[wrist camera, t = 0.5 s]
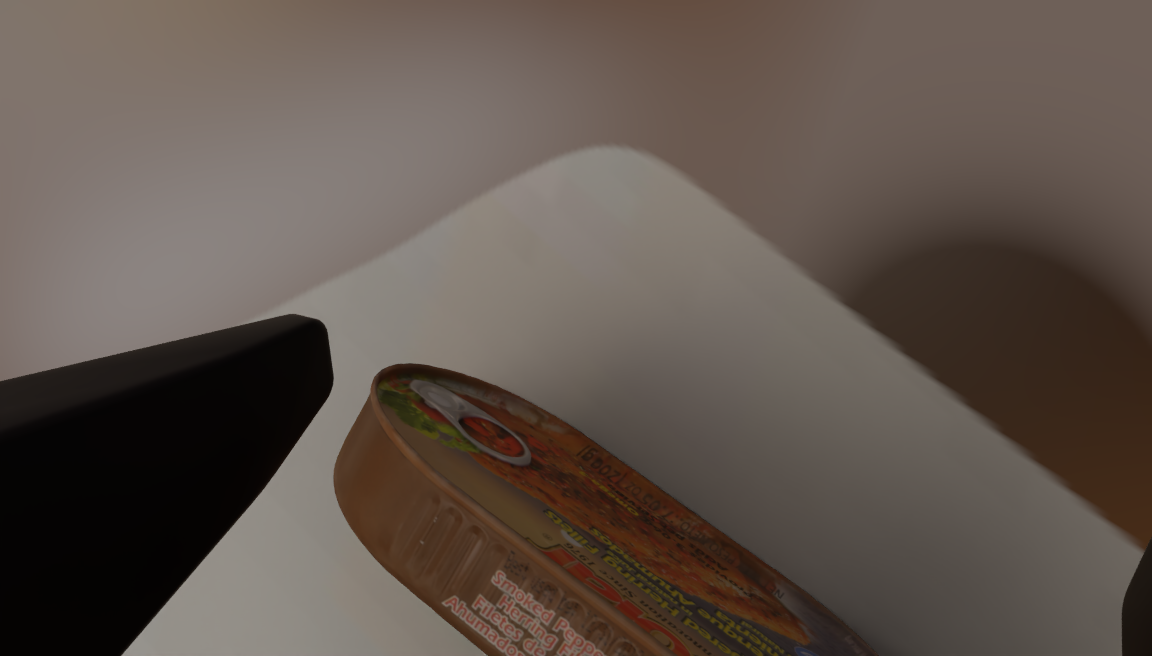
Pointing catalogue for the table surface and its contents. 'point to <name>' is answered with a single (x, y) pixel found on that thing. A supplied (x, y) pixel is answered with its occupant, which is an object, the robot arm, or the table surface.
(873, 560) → the table surface
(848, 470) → the table surface
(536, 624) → the tin
